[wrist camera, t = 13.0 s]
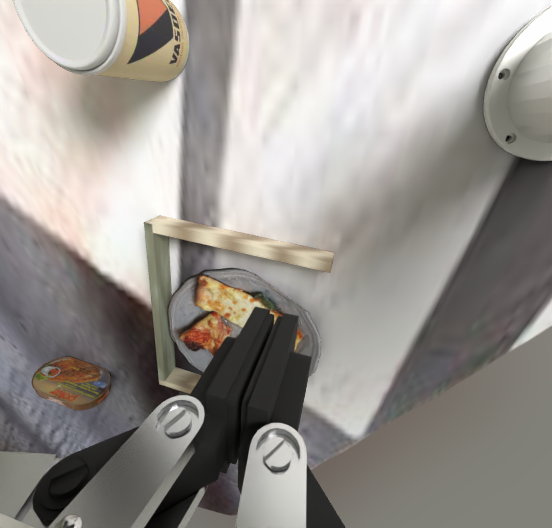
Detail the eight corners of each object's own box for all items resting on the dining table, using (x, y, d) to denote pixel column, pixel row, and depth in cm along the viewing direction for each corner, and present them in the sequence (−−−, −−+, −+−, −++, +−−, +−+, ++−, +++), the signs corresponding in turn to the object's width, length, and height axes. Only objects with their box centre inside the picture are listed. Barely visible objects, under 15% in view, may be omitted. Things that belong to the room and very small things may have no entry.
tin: (119, 374, 60) (87, 409, 53) (120, 384, 61) (89, 419, 54) (59, 351, 62) (19, 381, 54) (61, 361, 63) (22, 392, 56)
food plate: (155, 329, 51) (143, 342, 48) (211, 233, 40) (199, 242, 37) (268, 403, 53) (263, 420, 50) (350, 331, 42) (350, 347, 39)
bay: (334, 252, 37) (332, 264, 34) (295, 408, 51) (292, 426, 48) (159, 215, 41) (144, 222, 37) (170, 369, 55) (159, 384, 52)
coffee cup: (204, 84, 32) (131, 62, 21) (135, 95, 34) (38, 81, 24) (185, -26, 28) (85, -119, 17) (109, -5, 30) (-20, -74, 20)
